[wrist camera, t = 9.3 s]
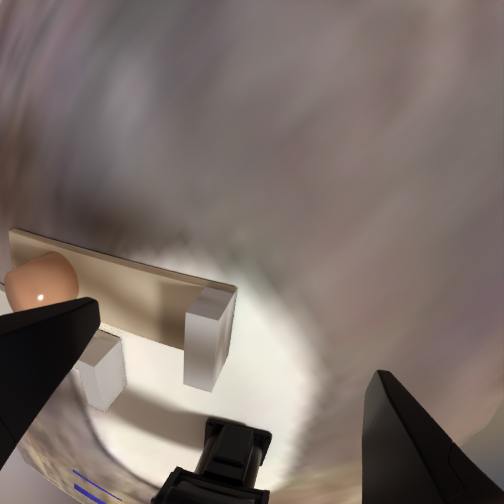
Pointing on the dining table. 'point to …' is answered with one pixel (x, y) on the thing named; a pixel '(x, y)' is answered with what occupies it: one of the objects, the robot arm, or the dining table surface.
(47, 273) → the rounded peach dome
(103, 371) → the grey strip
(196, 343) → the birch strip
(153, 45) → the dining table surface
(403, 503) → the robot arm
